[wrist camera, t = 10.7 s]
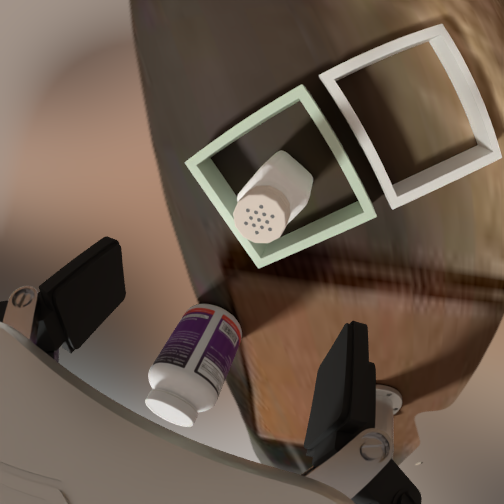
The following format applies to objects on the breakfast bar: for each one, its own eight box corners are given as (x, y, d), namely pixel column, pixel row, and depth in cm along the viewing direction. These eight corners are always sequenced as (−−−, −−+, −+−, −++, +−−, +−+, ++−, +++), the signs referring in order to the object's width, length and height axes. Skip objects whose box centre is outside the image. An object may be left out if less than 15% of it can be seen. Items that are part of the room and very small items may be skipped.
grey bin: (486, 150, 17) (502, 157, 14) (385, 197, 22) (392, 209, 20) (430, 31, 13) (442, 23, 11) (319, 79, 19) (318, 75, 16)
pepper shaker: (253, 178, 25) (213, 220, 17) (281, 146, 23) (253, 172, 15) (286, 207, 25) (263, 261, 17) (316, 177, 23) (308, 220, 15)
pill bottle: (183, 327, 38) (134, 407, 26) (193, 289, 34) (132, 380, 22) (234, 351, 38) (197, 438, 26) (253, 317, 34) (211, 420, 22)
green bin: (372, 203, 23) (376, 216, 20) (265, 252, 28) (258, 268, 26) (305, 86, 19) (301, 84, 17) (199, 155, 25) (184, 162, 22)
